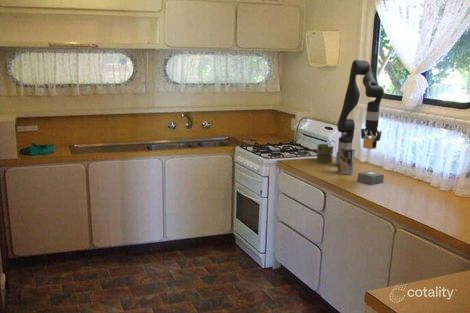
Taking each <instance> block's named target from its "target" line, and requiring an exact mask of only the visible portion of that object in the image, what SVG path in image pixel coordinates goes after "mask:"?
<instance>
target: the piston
mask: <svg viewBox="0 0 470 313" xmlns="http://www.w3.org/2000/svg"><path fill="white" fill-rule="evenodd" d="M316 148H317V149H316V153H317V154H316V162H317V163H321V164H332V163H333V154H334V145H332V146H329V144H327V143H326V144H325V143H320V144H317V147H316Z"/></svg>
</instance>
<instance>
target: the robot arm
mask: <svg viewBox="0 0 470 313" xmlns="http://www.w3.org/2000/svg"><path fill="white" fill-rule="evenodd" d="M357 76H363V78H362V84H363V86H364V88H365V96H366V97H367V98H375V99H374V100H372V101H371V100H370V101H368V102H367V103H366V104H367V105H366V114H365V123H364V124H365V125H364V127H365V128H361V129H360V137H361V138H360V139H362V140H364V138H369V137H370V138H372V139H373V146H372V147H373V148H375V147H376V143H378V142H379V141H381V138H382V131H381V130H380V131H379V130H378V127H379V121H380V120H379V119H380V118H379V116H380V112H379V111H380V105H381V101H382V98H383V97H384V92H385V89H384V87H383V86H381V85H378V83H377V81H376V80H375V78H374V75H373V71H372V67H371V65H370V62H369V61H368V60H360V59H355V60H353V61H352V64H351V67H350V72H349V79H348V83H347V87H346V92H345V95H344V100H343V105H342V109H341V112H340V115H339V119H338V121H337V125H336V126H337V131H338V132H339V133H344V135H343V136H340V137H339V138H338V147H337V148H338V149H337V152H336V155H335V156H336V157H335V166H336V167H338V159H339V149H341V148H345V149H353V140H354V134H355V127H356V124H355V120H354V119H351V118H348V117H349V115H350V113H351V112H353V110H354V109H355V108H356V107H357V105H358V104H359V102H360V96H361V92H360V89H359V87H358V85H357V81H356V79H357V78H356V77H357ZM376 148H377V147H376Z"/></svg>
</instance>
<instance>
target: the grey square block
mask: <svg viewBox="0 0 470 313" xmlns="http://www.w3.org/2000/svg"><path fill="white" fill-rule="evenodd" d="M367 172H373V173H376V174H375V175H369V174H366V173H367ZM384 177H385V176H384V173H379V172H376V171H372V170H366V171H363V172H362V171H361V172H357V180H356V181H357V182H359V183H364V184H368V185H371V186H372V185H377V184H378V185H379V184H382V183H384Z"/></svg>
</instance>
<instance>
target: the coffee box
mask: <svg viewBox="0 0 470 313" xmlns="http://www.w3.org/2000/svg"><path fill="white" fill-rule="evenodd" d="M354 161H355V149H354V148H352V149H345V148H341V149H339V159H338V166H337V174H341V175H348V176H351V175H353V174H354V165H355V164H354V163H355V162H354Z"/></svg>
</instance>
